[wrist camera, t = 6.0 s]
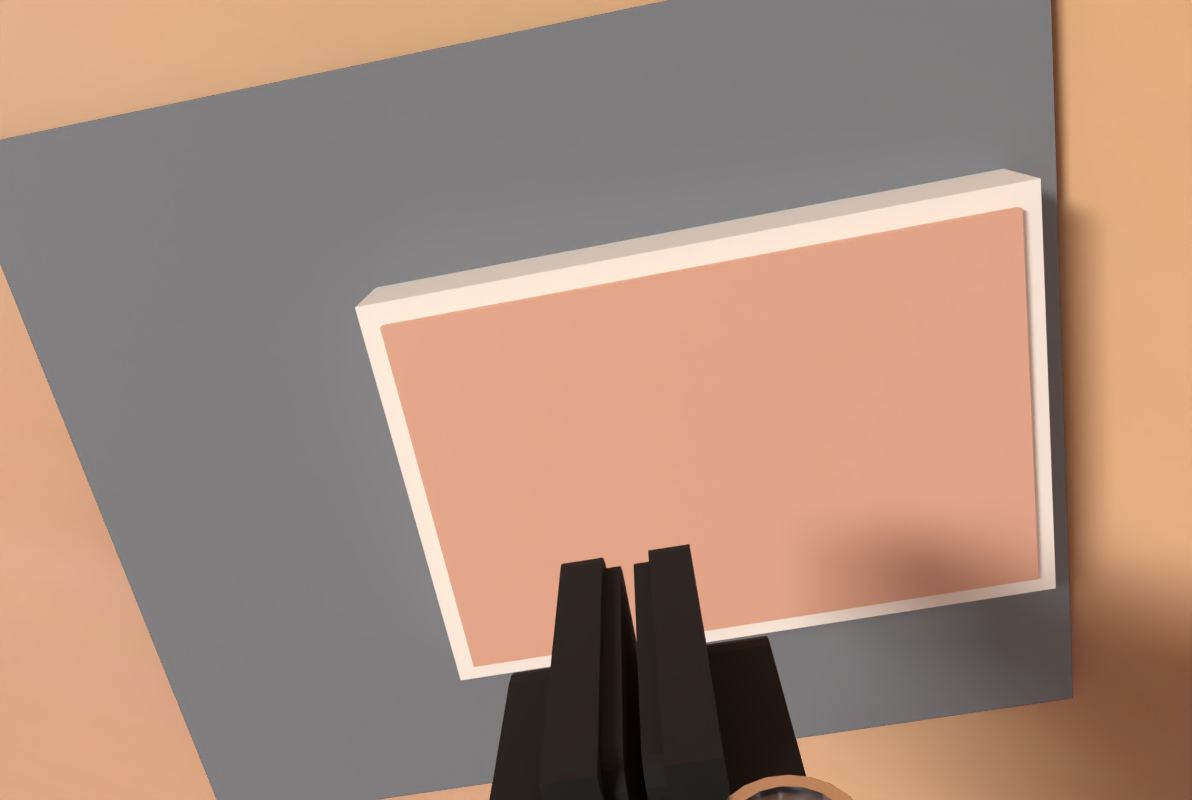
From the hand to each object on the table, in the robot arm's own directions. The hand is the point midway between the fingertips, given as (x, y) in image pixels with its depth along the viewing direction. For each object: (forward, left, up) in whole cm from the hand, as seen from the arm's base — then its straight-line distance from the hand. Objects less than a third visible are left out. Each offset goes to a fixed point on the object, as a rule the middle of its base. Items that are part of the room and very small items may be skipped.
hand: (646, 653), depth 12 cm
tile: (+4, 0, -7) cm, 8 cm away
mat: (+1, 0, -8) cm, 8 cm away
